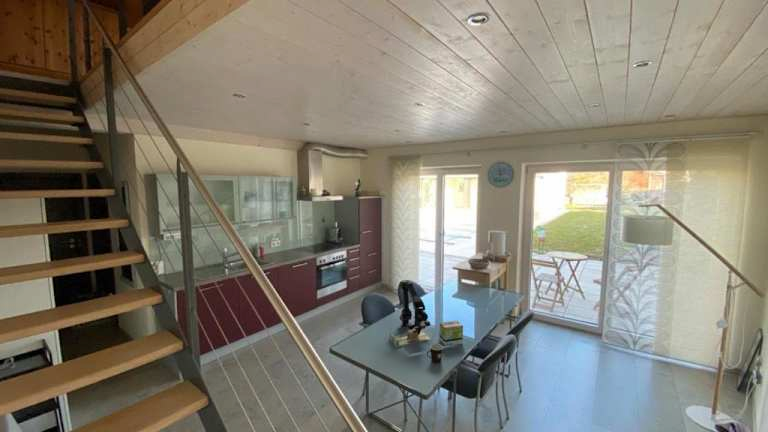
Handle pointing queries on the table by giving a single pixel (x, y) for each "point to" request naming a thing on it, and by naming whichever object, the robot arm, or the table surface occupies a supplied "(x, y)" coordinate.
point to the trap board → (406, 339)
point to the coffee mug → (436, 352)
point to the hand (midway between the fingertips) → (418, 335)
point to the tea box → (451, 333)
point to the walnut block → (412, 334)
